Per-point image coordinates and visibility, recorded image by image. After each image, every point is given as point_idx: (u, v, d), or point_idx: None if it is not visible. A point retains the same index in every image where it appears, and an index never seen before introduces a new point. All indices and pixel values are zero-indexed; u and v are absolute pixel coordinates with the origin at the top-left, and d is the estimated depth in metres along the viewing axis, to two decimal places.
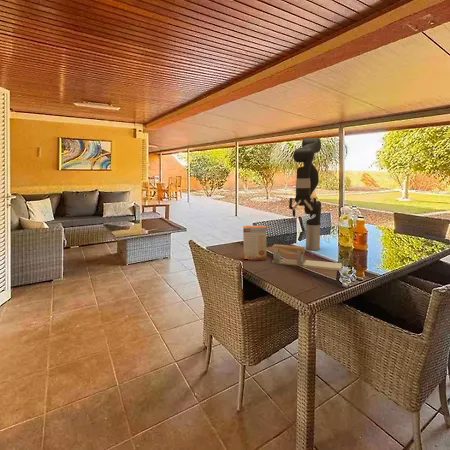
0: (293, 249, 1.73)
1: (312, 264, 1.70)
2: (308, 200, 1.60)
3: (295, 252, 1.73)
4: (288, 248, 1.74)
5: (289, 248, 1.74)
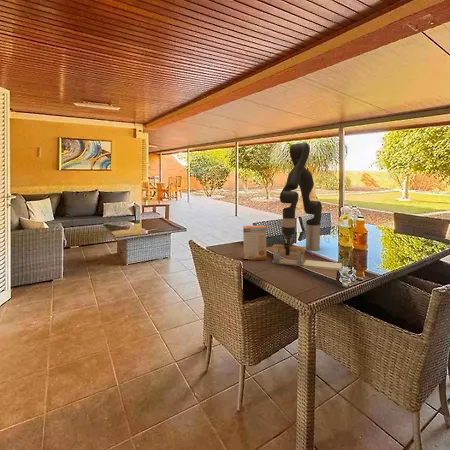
0: (293, 249, 1.73)
1: (312, 264, 1.70)
2: (291, 236, 1.77)
3: (295, 252, 1.73)
4: None
5: None
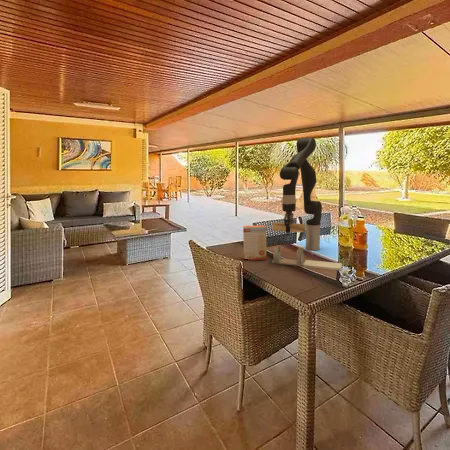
0: (293, 226, 1.71)
1: (312, 264, 1.70)
2: (291, 214, 1.75)
3: (296, 229, 1.71)
4: None
5: None
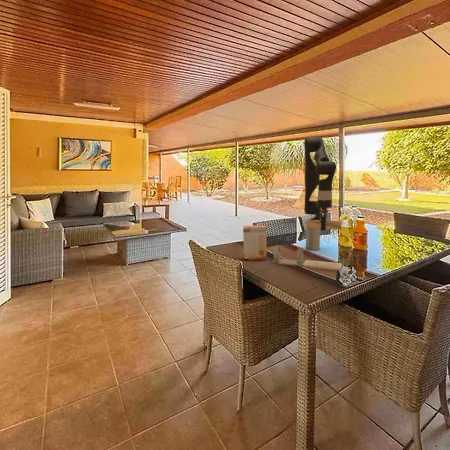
0: (329, 224, 1.63)
1: (312, 264, 1.70)
2: None
3: (332, 227, 1.63)
4: None
5: None
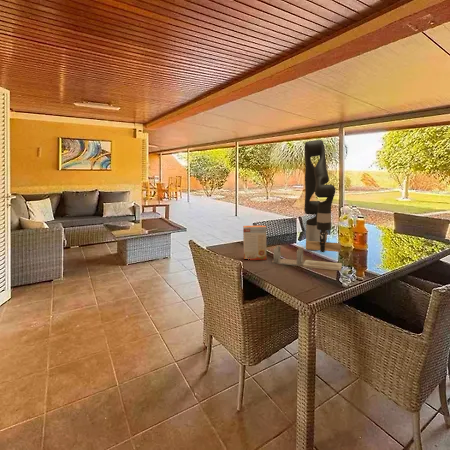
0: (329, 246, 1.65)
1: (312, 264, 1.70)
2: None
3: (331, 249, 1.65)
4: None
5: None
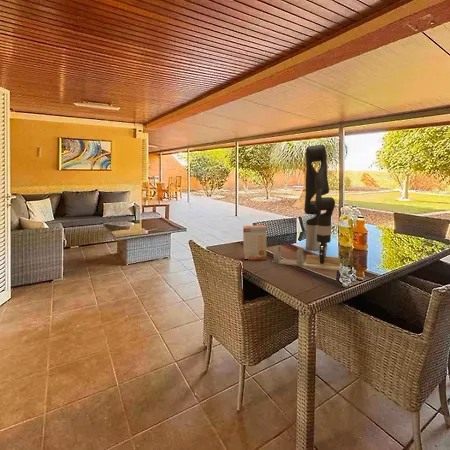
0: (328, 260, 1.67)
1: (312, 264, 1.70)
2: None
3: (330, 263, 1.66)
4: None
5: (324, 259, 1.67)
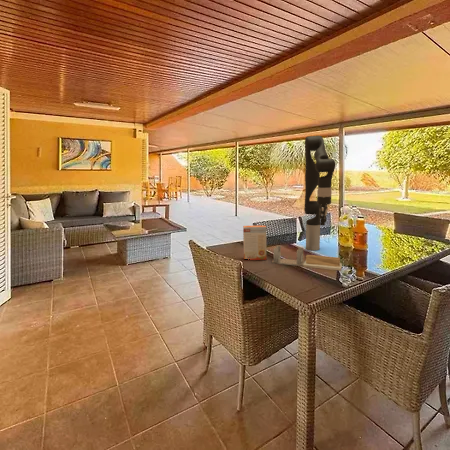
0: (328, 260, 1.67)
1: (312, 264, 1.70)
2: (326, 207, 1.72)
3: (330, 263, 1.66)
4: (323, 259, 1.68)
5: (324, 259, 1.67)
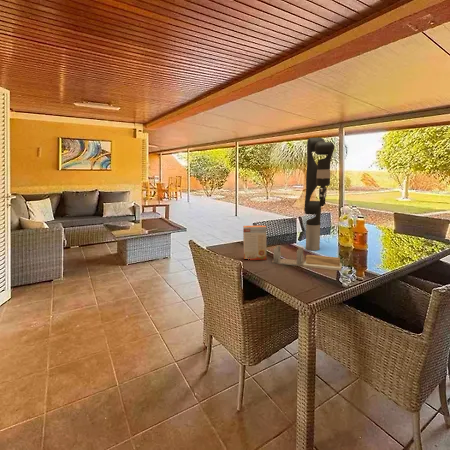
0: (328, 260, 1.67)
1: (312, 264, 1.70)
2: None
3: (330, 263, 1.66)
4: (323, 259, 1.68)
5: (324, 259, 1.67)
